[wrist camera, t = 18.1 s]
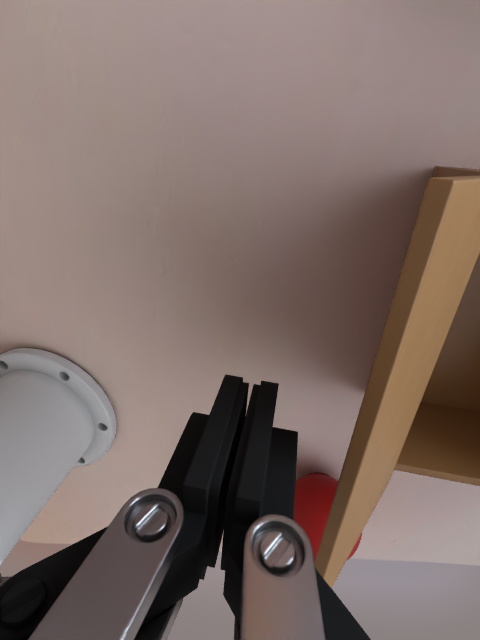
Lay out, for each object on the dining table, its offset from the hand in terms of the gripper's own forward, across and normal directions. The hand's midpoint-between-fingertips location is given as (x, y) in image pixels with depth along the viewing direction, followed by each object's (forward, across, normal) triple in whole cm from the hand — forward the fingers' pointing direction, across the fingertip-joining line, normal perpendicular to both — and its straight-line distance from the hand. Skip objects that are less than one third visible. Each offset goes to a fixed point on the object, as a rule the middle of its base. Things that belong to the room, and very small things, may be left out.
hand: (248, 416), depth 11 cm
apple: (+13, -6, +18) cm, 22 cm away
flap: (+2, -5, 0) cm, 5 cm away
